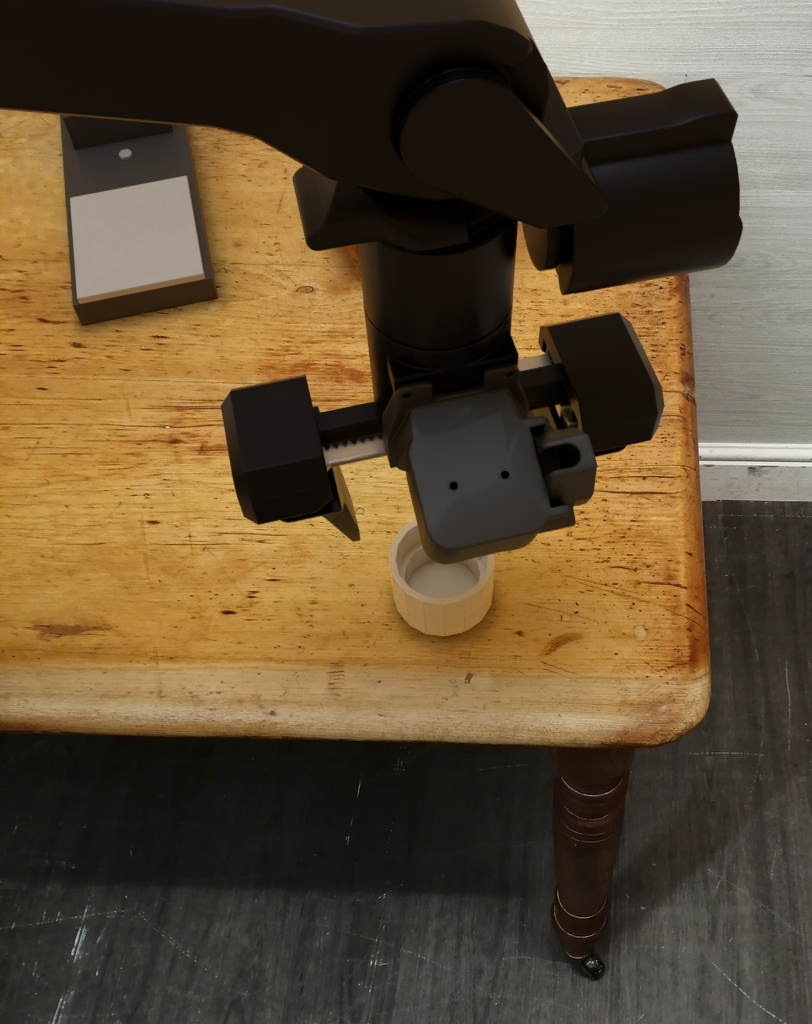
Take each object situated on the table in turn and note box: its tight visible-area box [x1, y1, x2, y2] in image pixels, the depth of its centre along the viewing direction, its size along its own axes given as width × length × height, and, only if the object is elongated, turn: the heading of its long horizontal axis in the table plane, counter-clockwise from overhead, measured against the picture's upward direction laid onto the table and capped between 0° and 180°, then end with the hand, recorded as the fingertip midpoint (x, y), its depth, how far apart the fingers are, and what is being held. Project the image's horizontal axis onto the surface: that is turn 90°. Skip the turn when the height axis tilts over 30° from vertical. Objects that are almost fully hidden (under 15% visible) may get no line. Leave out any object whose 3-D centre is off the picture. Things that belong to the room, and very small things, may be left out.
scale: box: [59, 115, 219, 326], centre depth 77 cm, size 10×26×5 cm, turn 13°
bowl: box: [387, 518, 496, 637], centre depth 56 cm, size 6×6×4 cm
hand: (442, 514), depth 51 cm, fingers open, 9 cm apart
